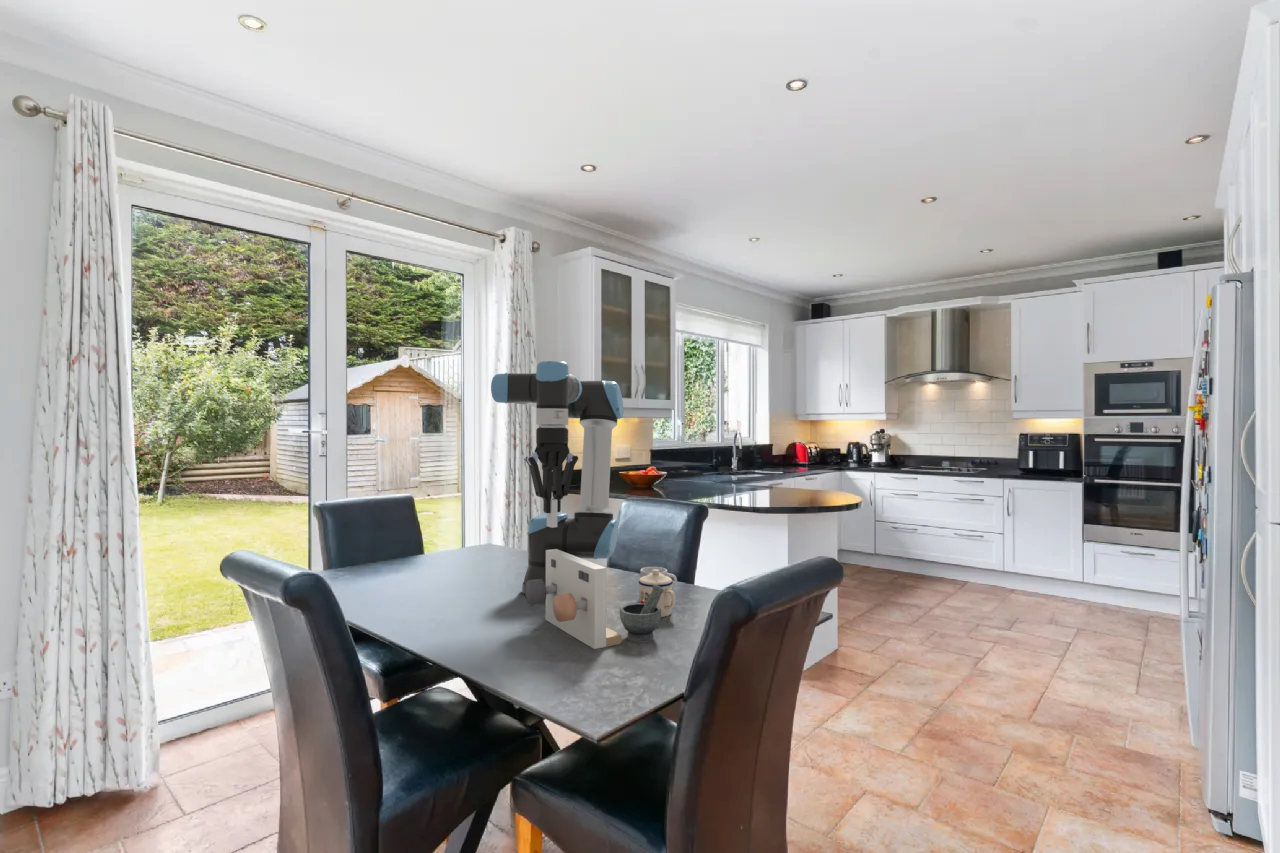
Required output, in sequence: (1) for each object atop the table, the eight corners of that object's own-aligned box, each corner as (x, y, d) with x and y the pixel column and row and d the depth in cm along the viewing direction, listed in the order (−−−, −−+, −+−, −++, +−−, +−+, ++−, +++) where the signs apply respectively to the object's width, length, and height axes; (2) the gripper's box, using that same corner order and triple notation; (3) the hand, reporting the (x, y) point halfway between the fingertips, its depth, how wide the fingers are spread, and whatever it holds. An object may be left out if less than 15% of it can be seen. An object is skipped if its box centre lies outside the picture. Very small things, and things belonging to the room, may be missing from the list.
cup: (677, 594, 196) (677, 567, 196) (676, 601, 188) (676, 573, 188) (641, 592, 197) (641, 566, 197) (638, 600, 189) (638, 572, 189)
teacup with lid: (631, 612, 176) (631, 569, 176) (656, 606, 182) (656, 564, 182) (661, 623, 167) (662, 577, 167) (687, 616, 173) (687, 572, 173)
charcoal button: (535, 607, 160) (535, 583, 159) (525, 602, 165) (525, 578, 164) (570, 602, 165) (570, 578, 165) (559, 596, 170) (559, 573, 170)
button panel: (593, 649, 148) (593, 569, 148) (544, 619, 170) (544, 550, 169) (621, 643, 152) (621, 565, 152) (569, 615, 174) (570, 547, 173)
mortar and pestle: (632, 647, 149) (632, 594, 149) (612, 635, 158) (612, 585, 157) (673, 639, 155) (673, 588, 155) (652, 628, 163) (652, 580, 163)
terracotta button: (564, 625, 146) (564, 598, 146) (552, 618, 151) (553, 592, 151) (601, 618, 151) (601, 592, 151) (589, 611, 156) (589, 586, 156)
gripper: (533, 427, 149) (532, 531, 149) (584, 427, 156) (583, 526, 156) (520, 426, 155) (519, 526, 155) (569, 426, 162) (569, 522, 162)
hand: (552, 526), depth 155 cm, fingers closed
